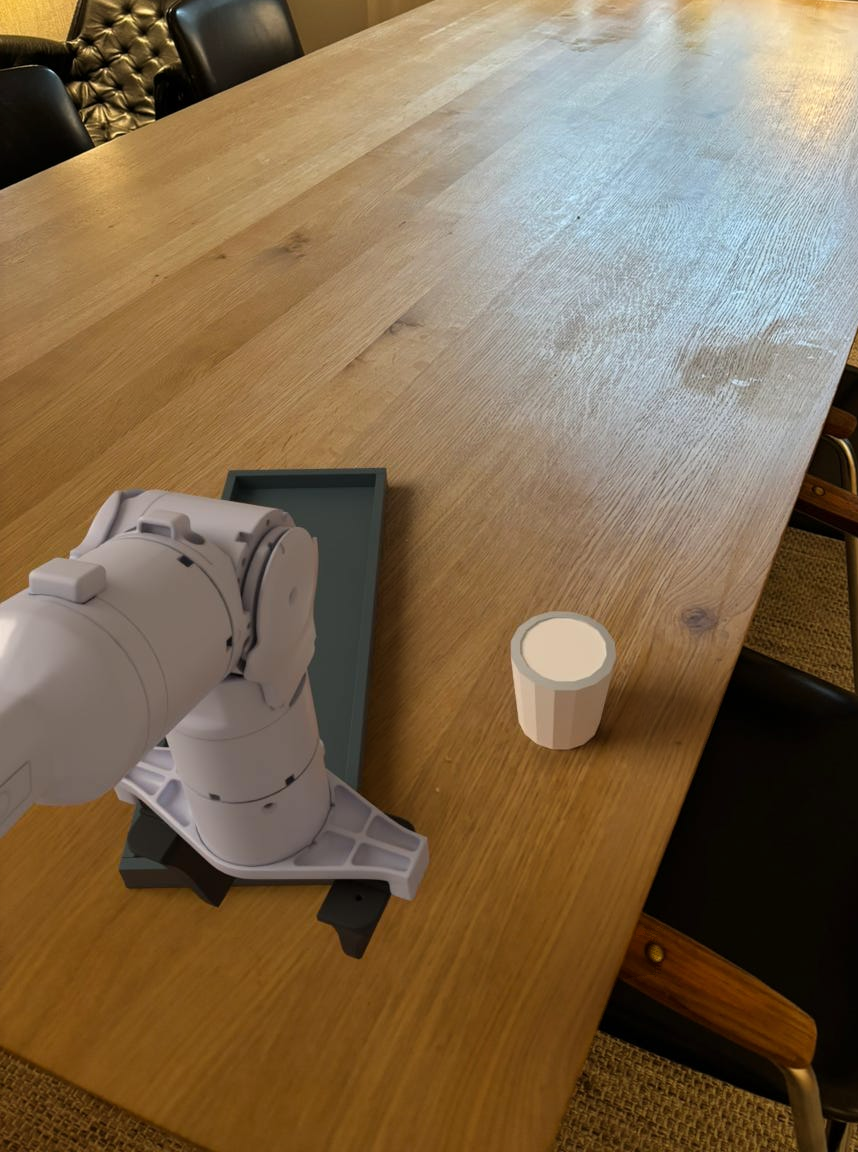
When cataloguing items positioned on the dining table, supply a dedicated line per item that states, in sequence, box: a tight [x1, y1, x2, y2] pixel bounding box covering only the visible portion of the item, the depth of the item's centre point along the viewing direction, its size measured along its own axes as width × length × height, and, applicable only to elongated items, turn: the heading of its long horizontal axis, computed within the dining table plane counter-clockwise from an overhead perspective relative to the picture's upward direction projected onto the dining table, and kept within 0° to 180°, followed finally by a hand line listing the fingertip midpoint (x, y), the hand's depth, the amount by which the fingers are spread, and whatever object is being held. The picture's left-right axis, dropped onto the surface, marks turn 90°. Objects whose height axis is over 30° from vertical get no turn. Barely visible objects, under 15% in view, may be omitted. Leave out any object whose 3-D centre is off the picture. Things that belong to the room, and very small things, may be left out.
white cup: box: [510, 610, 617, 750], centre depth 68 cm, size 7×7×7 cm
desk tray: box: [117, 467, 389, 889], centre depth 75 cm, size 38×14×2 cm, turn 1°
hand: (291, 912), depth 50 cm, fingers open, 7 cm apart
